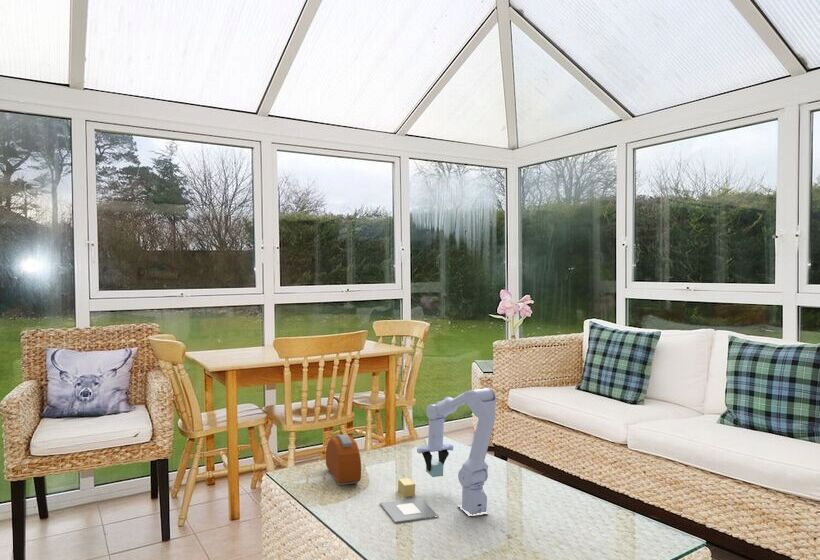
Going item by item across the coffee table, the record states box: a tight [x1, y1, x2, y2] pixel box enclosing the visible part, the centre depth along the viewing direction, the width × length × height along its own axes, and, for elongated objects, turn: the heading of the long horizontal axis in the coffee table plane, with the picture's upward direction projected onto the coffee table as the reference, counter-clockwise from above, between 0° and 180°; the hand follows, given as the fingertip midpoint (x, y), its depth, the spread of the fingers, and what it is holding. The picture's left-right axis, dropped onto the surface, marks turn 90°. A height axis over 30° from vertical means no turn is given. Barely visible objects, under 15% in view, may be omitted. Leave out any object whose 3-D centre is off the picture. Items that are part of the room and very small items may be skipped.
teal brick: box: [425, 458, 444, 478], centre depth 220 cm, size 6×4×4 cm
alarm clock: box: [325, 434, 362, 486], centre depth 232 cm, size 23×9×17 cm, turn 22°
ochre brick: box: [397, 477, 416, 498], centre depth 217 cm, size 6×4×4 cm
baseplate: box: [379, 497, 439, 524], centre depth 202 cm, size 16×16×1 cm
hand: (434, 469), depth 220 cm, fingers closed on teal brick, 4 cm apart
